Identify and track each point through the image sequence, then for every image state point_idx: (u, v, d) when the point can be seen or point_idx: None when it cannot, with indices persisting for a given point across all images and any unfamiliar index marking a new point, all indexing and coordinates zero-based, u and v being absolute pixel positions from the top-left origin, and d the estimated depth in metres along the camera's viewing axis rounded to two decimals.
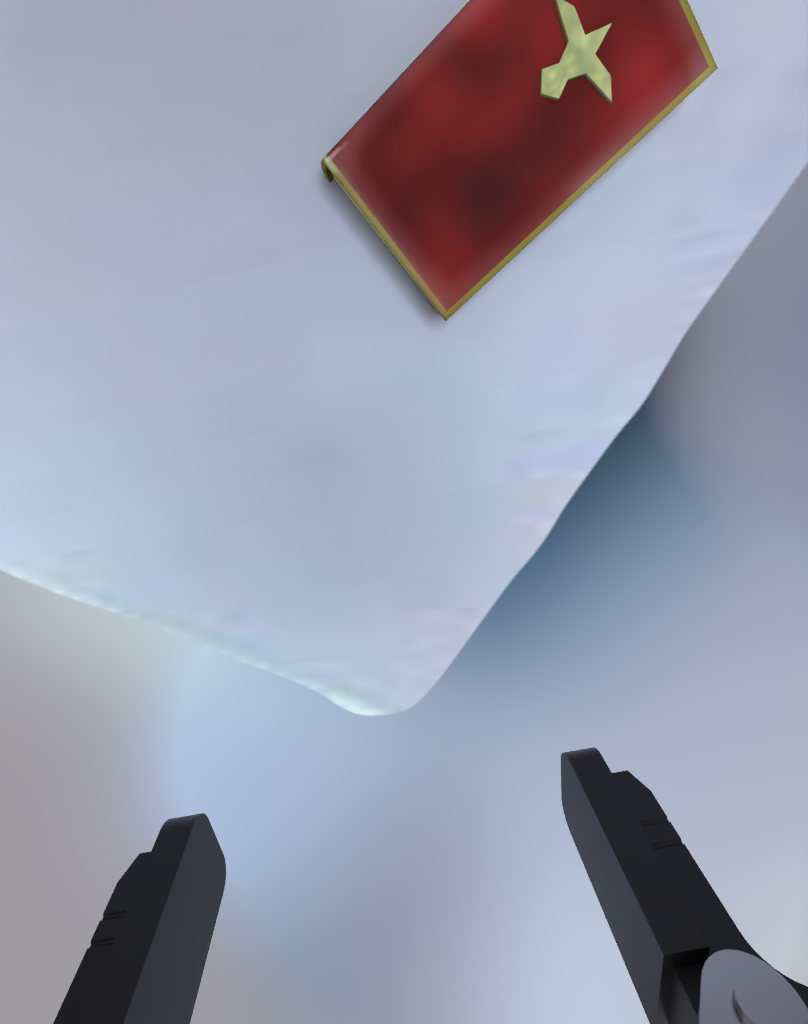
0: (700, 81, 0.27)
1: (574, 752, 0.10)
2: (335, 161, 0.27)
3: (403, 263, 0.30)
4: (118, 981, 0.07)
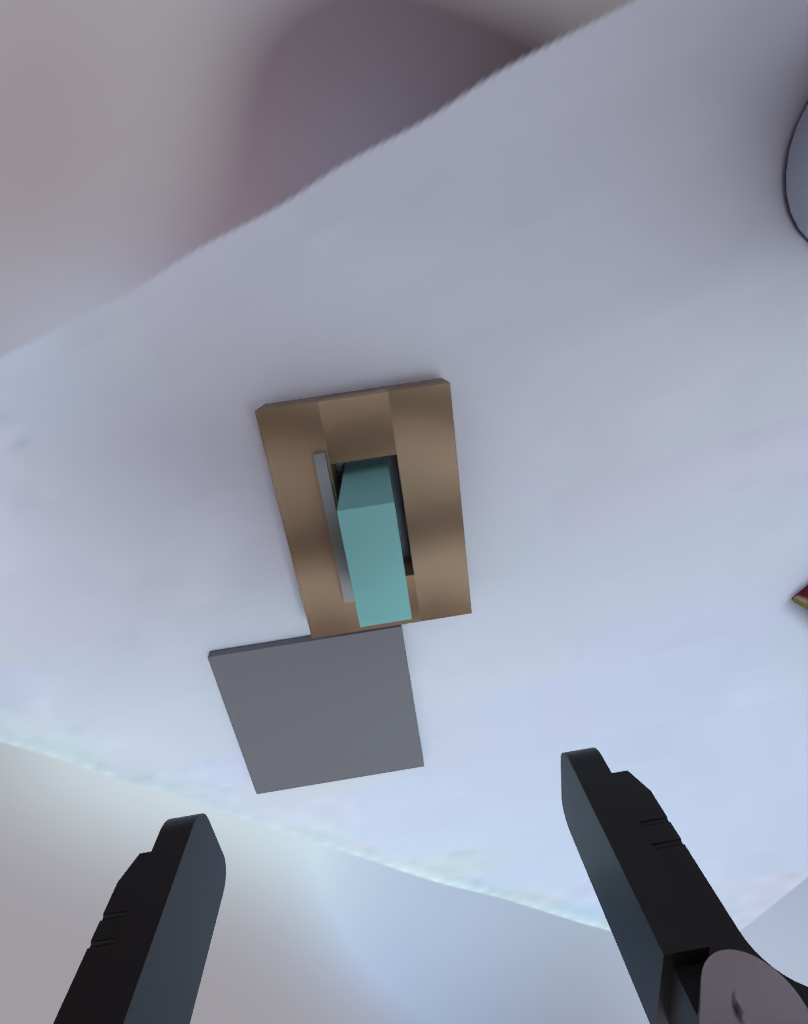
0: None
1: (574, 752, 0.10)
2: None
3: None
4: (118, 981, 0.07)
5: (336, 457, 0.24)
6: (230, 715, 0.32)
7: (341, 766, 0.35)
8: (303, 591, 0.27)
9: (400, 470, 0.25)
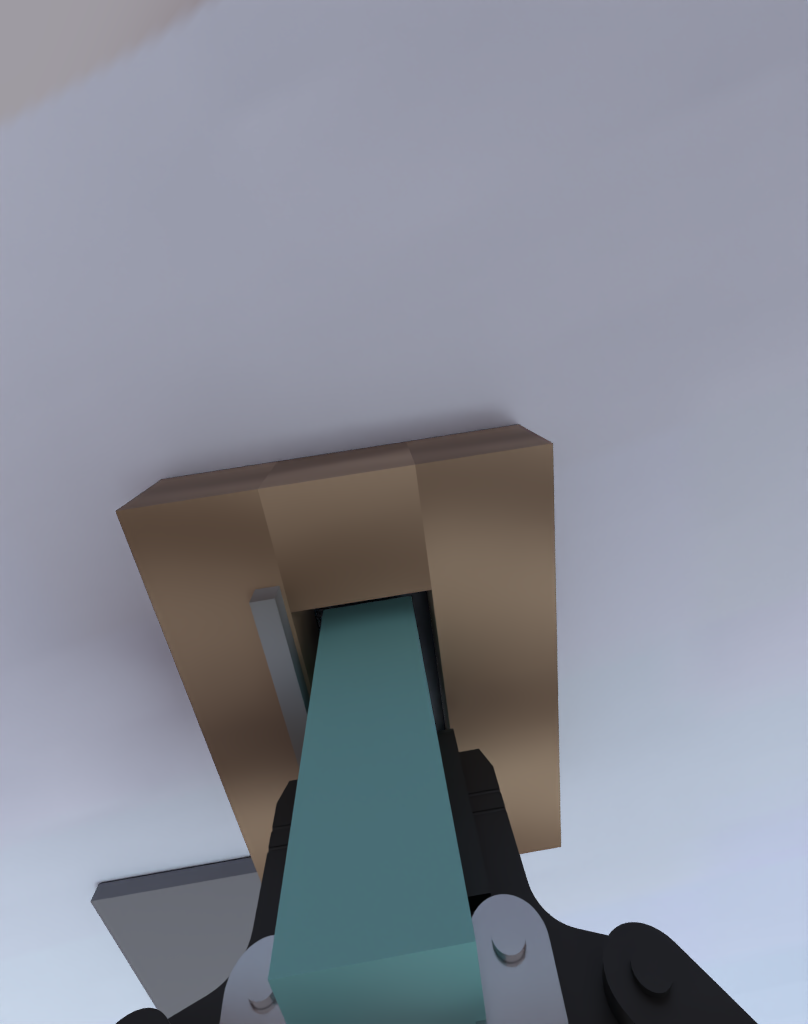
0: None
1: None
2: None
3: None
4: None
5: (302, 598, 0.11)
6: (140, 975, 0.19)
7: None
8: (247, 830, 0.14)
9: (438, 619, 0.12)
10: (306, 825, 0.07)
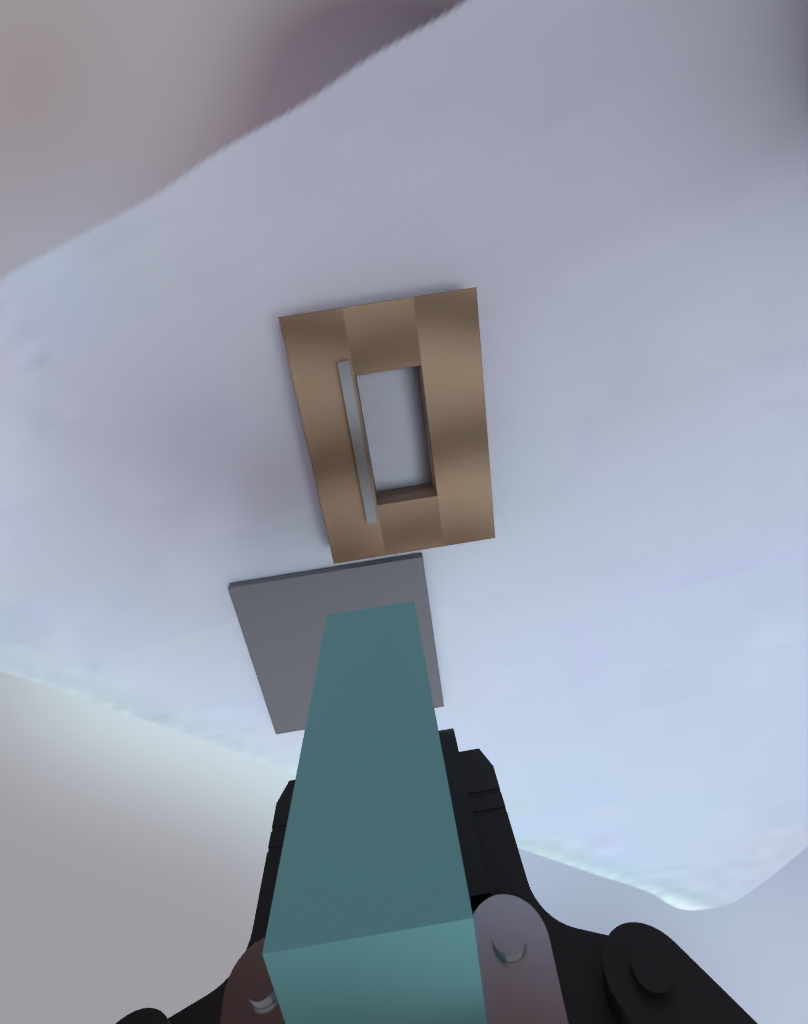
0: None
1: None
2: None
3: None
4: None
5: (360, 367, 0.24)
6: (250, 650, 0.32)
7: None
8: (325, 512, 0.27)
9: (425, 382, 0.25)
10: (305, 810, 0.07)
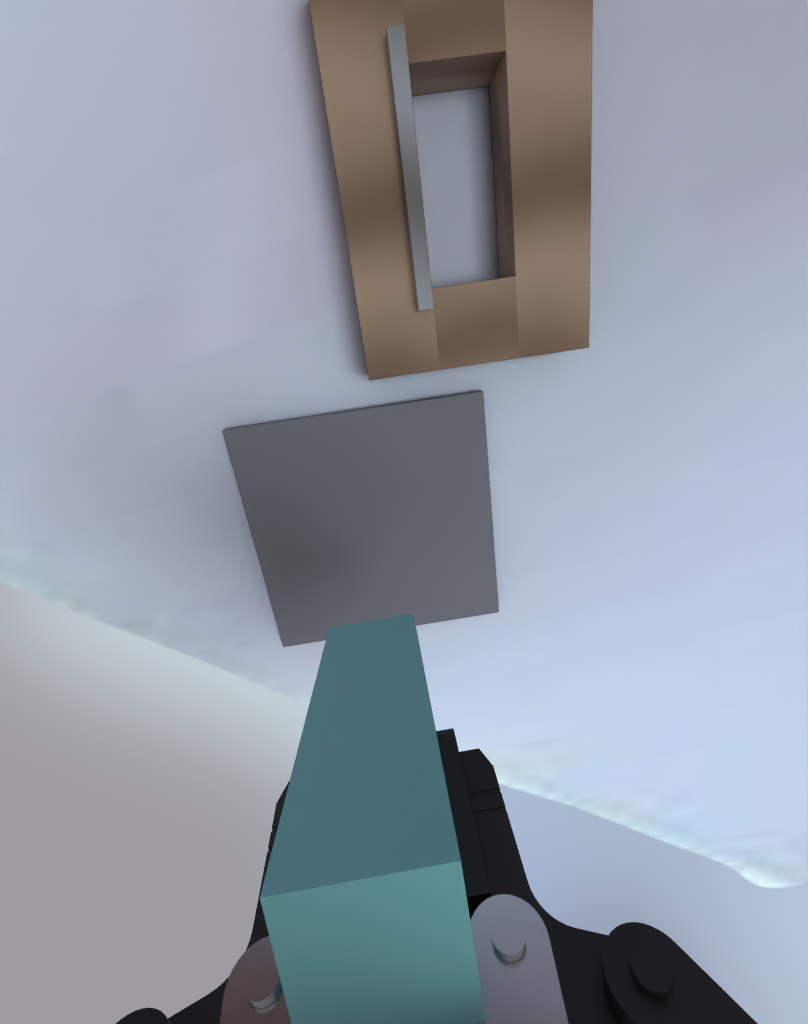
0: None
1: None
2: None
3: None
4: None
5: (417, 50, 0.16)
6: (251, 525, 0.24)
7: (393, 608, 0.27)
8: (360, 297, 0.19)
9: (509, 81, 0.17)
10: (303, 783, 0.07)
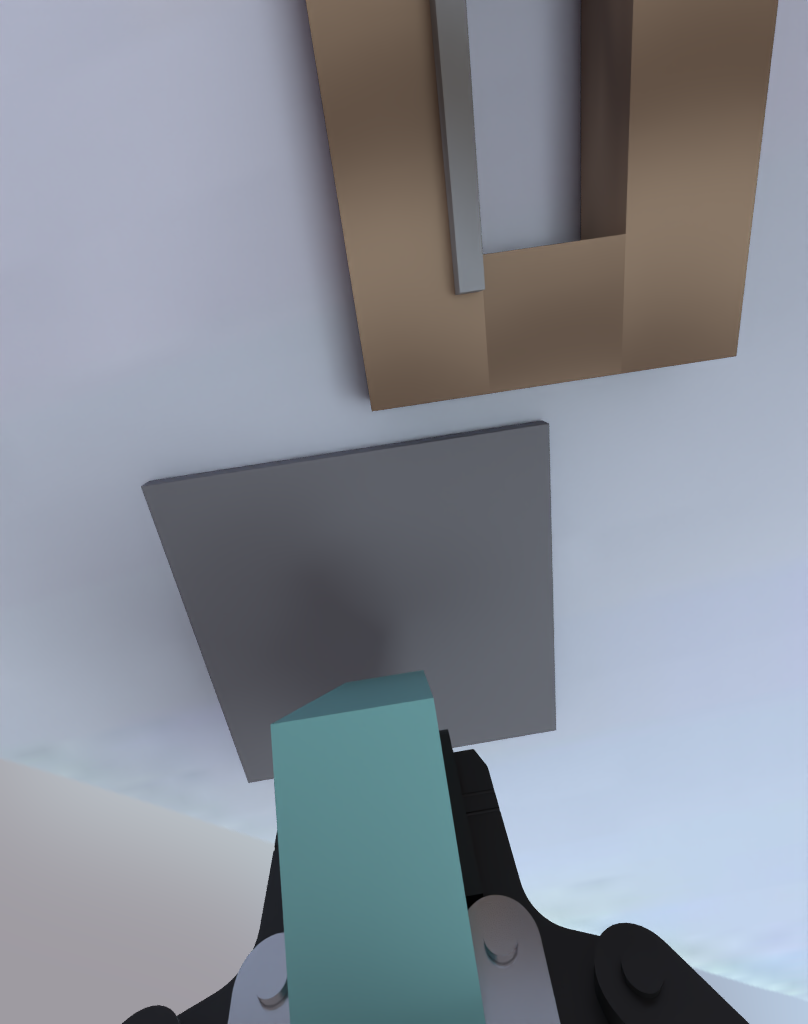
0: None
1: None
2: None
3: None
4: None
5: None
6: (194, 622, 0.16)
7: None
8: (357, 270, 0.11)
9: None
10: (312, 705, 0.09)
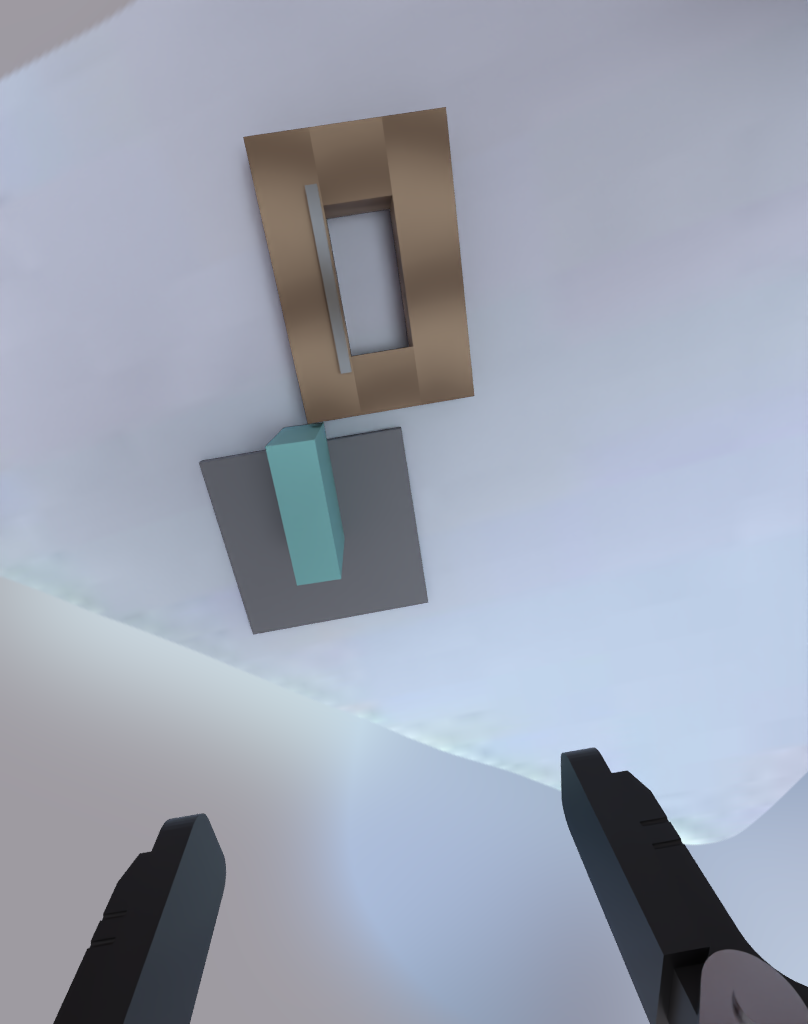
0: None
1: (574, 752, 0.10)
2: None
3: None
4: (118, 981, 0.07)
5: (329, 196, 0.23)
6: (224, 535, 0.31)
7: (342, 600, 0.33)
8: (297, 364, 0.26)
9: (396, 215, 0.24)
10: None
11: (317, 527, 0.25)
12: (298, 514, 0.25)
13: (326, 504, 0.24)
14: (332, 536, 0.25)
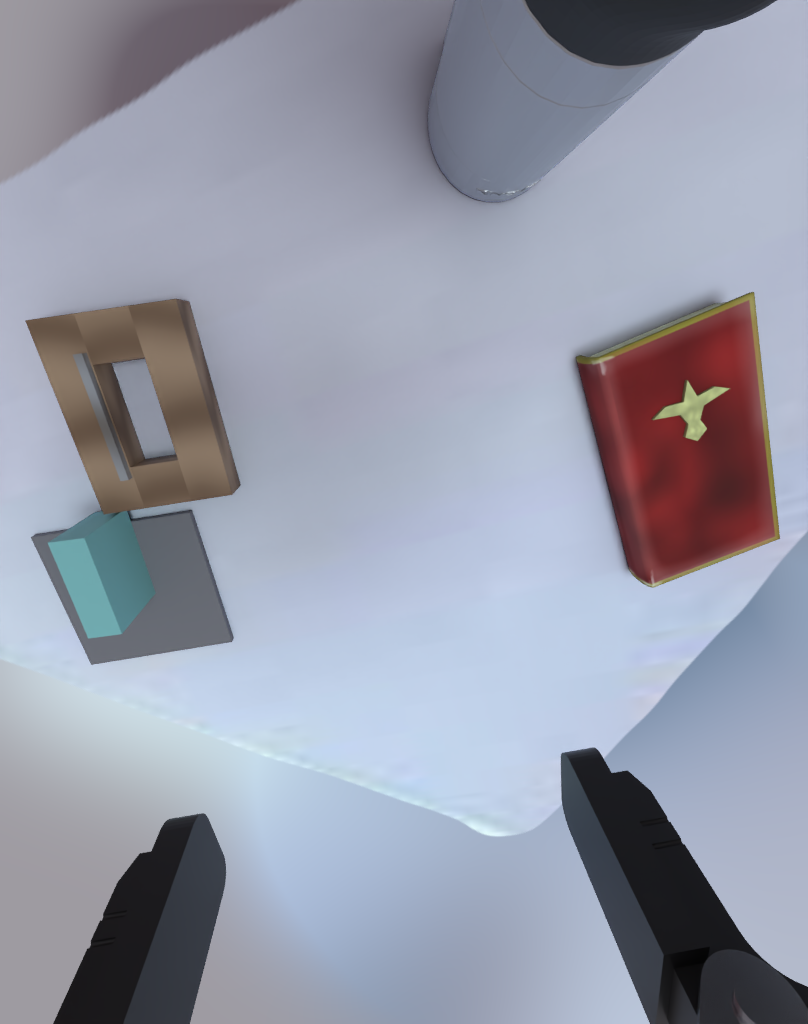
0: (754, 308, 0.33)
1: (574, 752, 0.10)
2: (656, 580, 0.41)
3: (730, 556, 0.40)
4: (118, 981, 0.07)
5: (96, 359, 0.32)
6: (57, 590, 0.39)
7: (160, 639, 0.42)
8: (89, 472, 0.34)
9: (149, 370, 0.32)
10: None
11: (96, 598, 0.34)
12: (81, 589, 0.33)
13: (101, 582, 0.33)
14: (110, 604, 0.34)
